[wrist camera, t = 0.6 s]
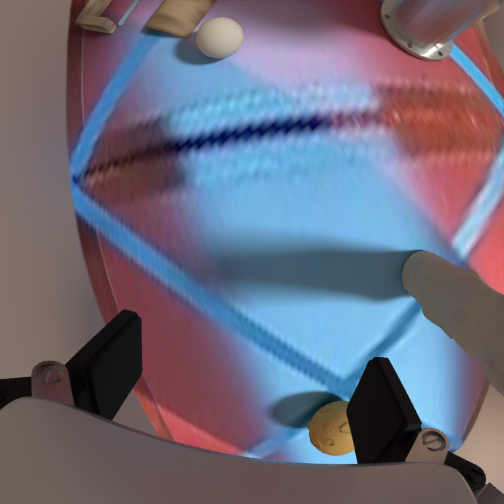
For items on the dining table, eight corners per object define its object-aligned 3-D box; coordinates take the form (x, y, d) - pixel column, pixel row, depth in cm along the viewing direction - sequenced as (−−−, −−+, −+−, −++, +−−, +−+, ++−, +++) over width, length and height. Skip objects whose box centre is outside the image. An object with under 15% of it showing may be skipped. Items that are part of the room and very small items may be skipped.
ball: (216, 25, 31) (206, 4, 25) (253, 38, 31) (250, 17, 25) (194, 57, 32) (181, 39, 26) (232, 71, 32) (224, 53, 27)
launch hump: (197, -13, 32) (186, -38, 25) (237, -4, 33) (231, -30, 25) (157, 39, 36) (138, 19, 28) (197, 51, 36) (182, 29, 28)
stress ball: (359, 412, 45) (386, 406, 37) (342, 459, 40) (367, 462, 31) (312, 396, 47) (333, 388, 38) (292, 445, 41) (310, 448, 33)
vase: (443, 241, 35) (603, 330, 6) (442, 293, 37) (567, 411, 8) (394, 251, 37) (552, 378, 8) (396, 306, 38) (508, 459, 9)
